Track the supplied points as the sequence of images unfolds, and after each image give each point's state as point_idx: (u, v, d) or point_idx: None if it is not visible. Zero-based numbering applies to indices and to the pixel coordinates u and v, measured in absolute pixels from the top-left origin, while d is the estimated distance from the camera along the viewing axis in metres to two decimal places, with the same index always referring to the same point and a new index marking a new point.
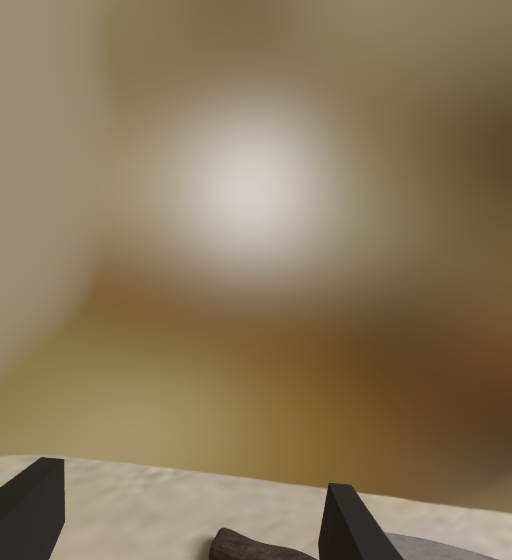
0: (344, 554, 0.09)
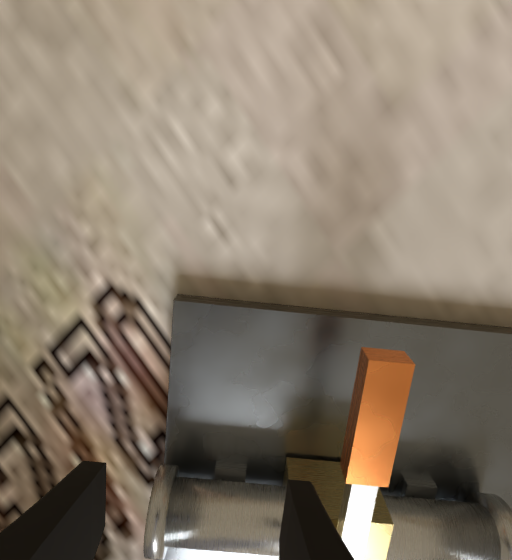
0: (296, 550, 0.09)
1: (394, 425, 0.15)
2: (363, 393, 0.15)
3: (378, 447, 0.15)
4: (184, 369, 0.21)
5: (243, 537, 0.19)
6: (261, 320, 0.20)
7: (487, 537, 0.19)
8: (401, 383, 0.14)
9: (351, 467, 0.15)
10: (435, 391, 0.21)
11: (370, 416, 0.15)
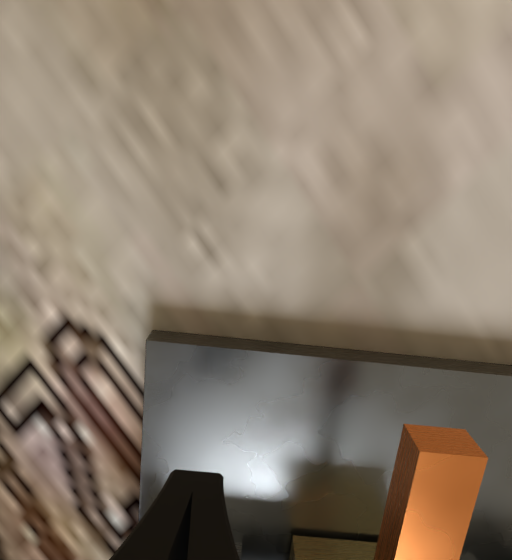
0: None
1: (453, 540, 0.10)
2: (410, 497, 0.10)
3: None
4: (161, 427, 0.16)
5: None
6: (260, 365, 0.15)
7: None
8: (466, 484, 0.10)
9: None
10: None
11: (419, 528, 0.10)
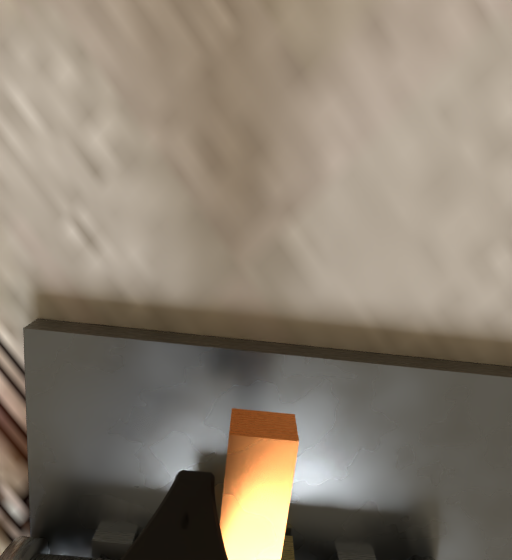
0: None
1: (275, 525, 0.10)
2: (225, 481, 0.10)
3: (254, 556, 0.10)
4: (45, 416, 0.16)
5: None
6: (140, 354, 0.15)
7: None
8: (280, 468, 0.10)
9: None
10: (373, 445, 0.16)
11: (238, 513, 0.10)
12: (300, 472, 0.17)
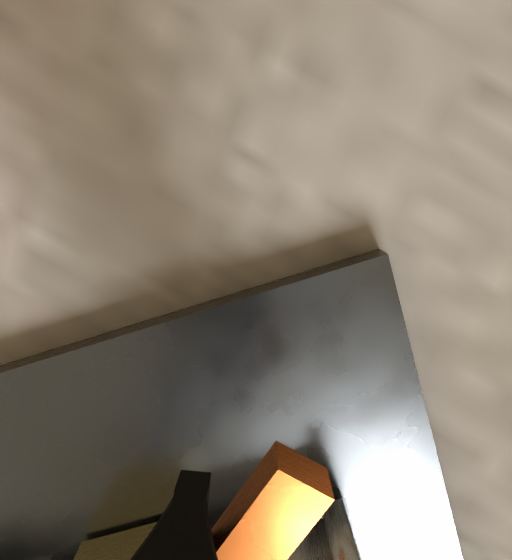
0: None
1: None
2: (250, 508, 0.10)
3: None
4: None
5: None
6: None
7: None
8: (305, 516, 0.10)
9: None
10: (207, 400, 0.16)
11: (245, 540, 0.10)
12: (157, 452, 0.16)
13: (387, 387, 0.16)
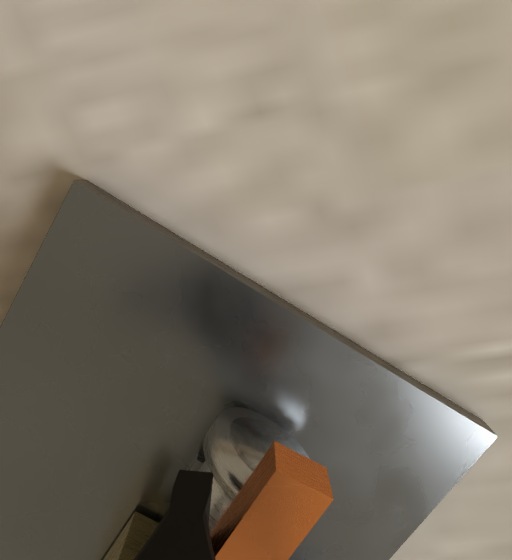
0: None
1: None
2: (249, 509, 0.10)
3: None
4: None
5: None
6: None
7: (216, 489, 0.13)
8: (305, 516, 0.10)
9: None
10: (65, 407, 0.16)
11: (246, 541, 0.10)
12: (72, 475, 0.17)
13: (186, 286, 0.15)
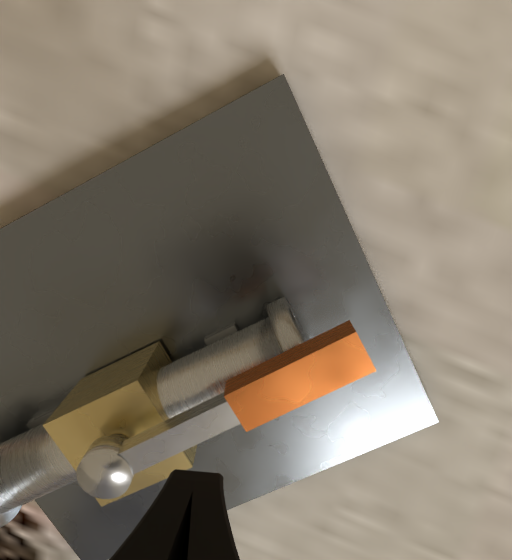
0: None
1: (308, 394, 0.14)
2: (321, 349, 0.14)
3: (278, 397, 0.14)
4: None
5: (36, 470, 0.18)
6: None
7: (264, 342, 0.17)
8: (352, 372, 0.14)
9: (243, 389, 0.14)
10: (160, 233, 0.19)
11: (303, 370, 0.14)
12: (128, 288, 0.19)
13: (308, 197, 0.18)
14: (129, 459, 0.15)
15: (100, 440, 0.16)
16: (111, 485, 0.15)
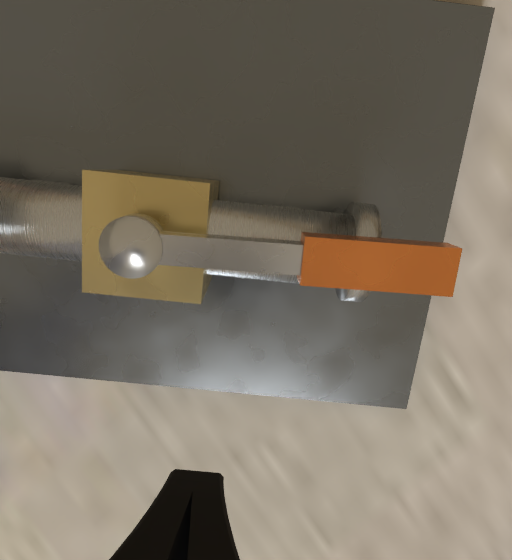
0: None
1: (379, 283, 0.14)
2: (421, 246, 0.13)
3: (352, 269, 0.13)
4: None
5: (34, 217, 0.15)
6: None
7: (340, 227, 0.16)
8: (431, 285, 0.14)
9: (327, 241, 0.13)
10: (290, 78, 0.17)
11: (393, 256, 0.13)
12: (224, 110, 0.18)
13: (439, 134, 0.18)
14: (167, 246, 0.13)
15: (142, 214, 0.14)
16: (130, 262, 0.13)
